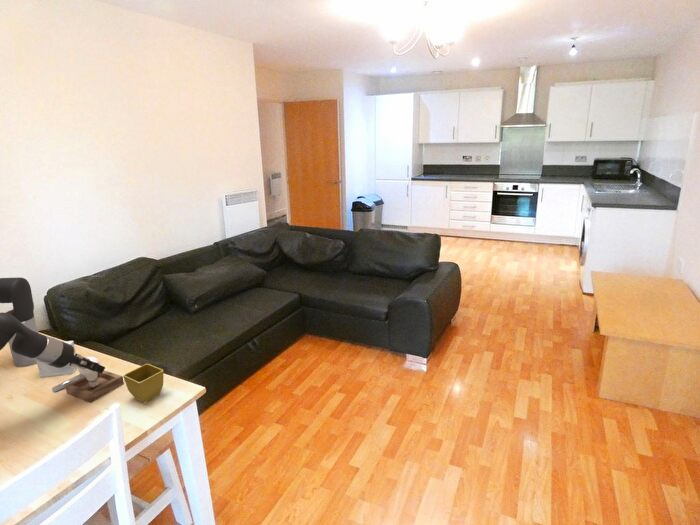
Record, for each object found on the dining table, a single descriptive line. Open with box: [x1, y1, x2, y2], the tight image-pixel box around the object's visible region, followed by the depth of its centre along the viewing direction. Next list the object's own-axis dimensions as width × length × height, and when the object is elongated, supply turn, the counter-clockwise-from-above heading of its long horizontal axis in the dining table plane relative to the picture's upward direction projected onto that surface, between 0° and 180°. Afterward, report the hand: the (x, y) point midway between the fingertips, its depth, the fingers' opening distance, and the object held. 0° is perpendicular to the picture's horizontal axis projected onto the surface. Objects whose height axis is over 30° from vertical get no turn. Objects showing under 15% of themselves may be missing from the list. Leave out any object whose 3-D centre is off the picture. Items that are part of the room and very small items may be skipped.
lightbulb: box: [77, 355, 101, 387], centre depth 139 cm, size 6×6×11 cm
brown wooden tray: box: [64, 369, 125, 404], centre depth 141 cm, size 12×12×3 cm
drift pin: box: [51, 373, 84, 393], centre depth 144 cm, size 11×2×2 cm, turn 155°
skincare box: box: [36, 340, 78, 378], centre depth 151 cm, size 10×6×10 cm, turn 103°
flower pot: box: [123, 363, 164, 403], centre depth 135 cm, size 9×9×9 cm
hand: (94, 367), depth 140 cm, fingers open, 8 cm apart
